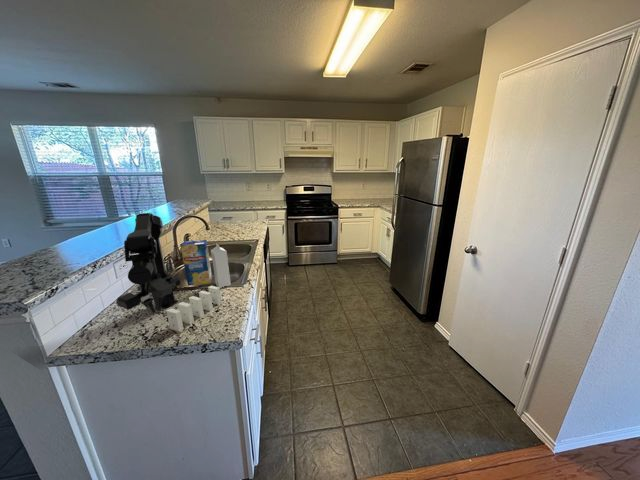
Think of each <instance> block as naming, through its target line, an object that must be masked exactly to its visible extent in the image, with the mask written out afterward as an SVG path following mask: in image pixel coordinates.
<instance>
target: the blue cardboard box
mask: <svg viewBox="0 0 640 480" xmlns="http://www.w3.org/2000/svg"><path fill="white" fill-rule="evenodd" d="M208 247H209V246H208V241H207V239H201V240H200V239H199V240H187V241H186V240H185V241H183V242H182V244H180V250H181V251H180V252H181V255H182V261H183V266H184V272H185V277H186V282H187V286H188V287H189V286H190V287H191V286H200V285H207V284H208V285H209V284H211V282H212V280H213V275H212V274H213V273H212V267H211V261H210V254H209V248H208Z"/></svg>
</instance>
